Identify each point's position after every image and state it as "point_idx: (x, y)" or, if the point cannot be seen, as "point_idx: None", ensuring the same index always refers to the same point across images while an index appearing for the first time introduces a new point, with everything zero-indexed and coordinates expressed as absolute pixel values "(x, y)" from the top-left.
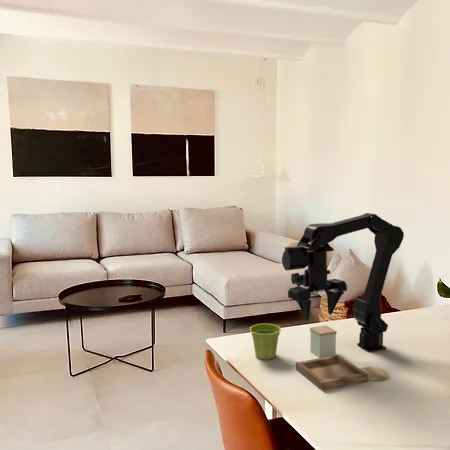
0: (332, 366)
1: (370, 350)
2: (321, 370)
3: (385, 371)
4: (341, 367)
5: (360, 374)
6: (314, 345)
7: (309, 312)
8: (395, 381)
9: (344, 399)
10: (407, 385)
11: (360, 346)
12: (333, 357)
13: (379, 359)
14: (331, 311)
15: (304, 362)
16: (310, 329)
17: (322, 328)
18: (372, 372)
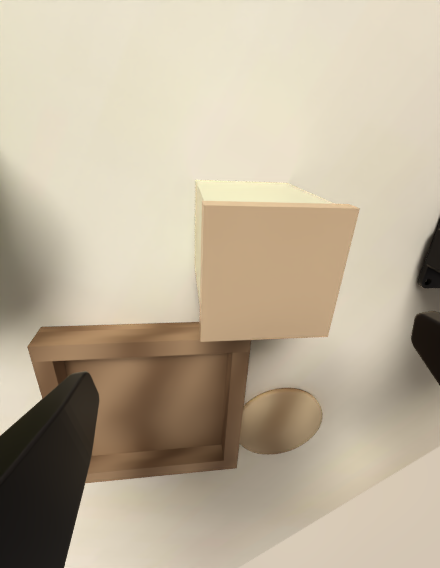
0: (188, 364)
1: (424, 287)
2: (131, 379)
3: (317, 425)
4: (214, 378)
5: (215, 466)
6: (198, 234)
7: (64, 540)
8: (298, 456)
9: (115, 496)
10: (305, 473)
11: (438, 227)
12: (216, 351)
13: (385, 344)
14: (436, 378)
15: (67, 358)
16: (202, 211)
17: (284, 259)
18: (280, 422)
